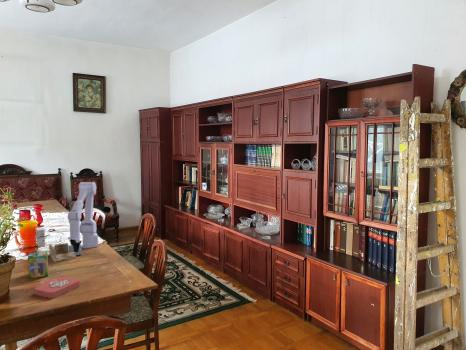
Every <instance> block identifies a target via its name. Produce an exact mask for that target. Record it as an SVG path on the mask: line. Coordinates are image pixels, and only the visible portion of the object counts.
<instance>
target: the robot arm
mask: <svg viewBox="0 0 466 350" xmlns="http://www.w3.org/2000/svg"><path fill="white" fill-rule="evenodd" d="M78 191H79V193H78V196H77V200H75V201H74V203H73V205H72V208H71V210H70V211H69V212H68V213H67V219H68V223H69V236H67V239H68V241H69V242H70V246H71V245H73V248H74V252H78V251H79V246H80V244H81V245H82V249H91V248H96V247H99V239H98V238H99V237H98V233H97V230H98V229H97V222H96V221H95V220H94V219H93V212H94V196H95V195H97V184H96V182H94V181H92V182H89V181H88V182H86V181H85V182H84V181H81V182H79V183H78ZM84 201H85V204H84ZM84 205H85V207H84ZM83 207H84V219H83V220H82V221H80V220H81V219H82V213H83V212H82V211H83ZM81 235H82V240H80V239H81Z"/></svg>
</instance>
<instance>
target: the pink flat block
mask: <svg viewBox="0 0 466 350" xmlns="http://www.w3.org/2000/svg"><path fill="white" fill-rule="evenodd" d="M78 286H79V287H80V286H81V280H80V279H78V278H74V277H69V276H62V277H58V278H57V279H51V280H45V281H44V282H43V284H40V285H39V286H36V287H35V288H34V292H35V293H34V294H36V295H35V296H38V295H39V296H38V297H42V296H43V297H42V298H46V297H48V298H47V299H54V298H53V297H55V298H57V297H59V296H58V295H60V296H61V294H62V295H64V294H66V293H68V292H70V291H72V289H73V290H74V288H75V289H76V287H77V288H79V287H78ZM69 290H70V291H69ZM67 291H68V292H67ZM65 292H66V293H65ZM63 293H64V294H63ZM56 296H57V297H56Z"/></svg>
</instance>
